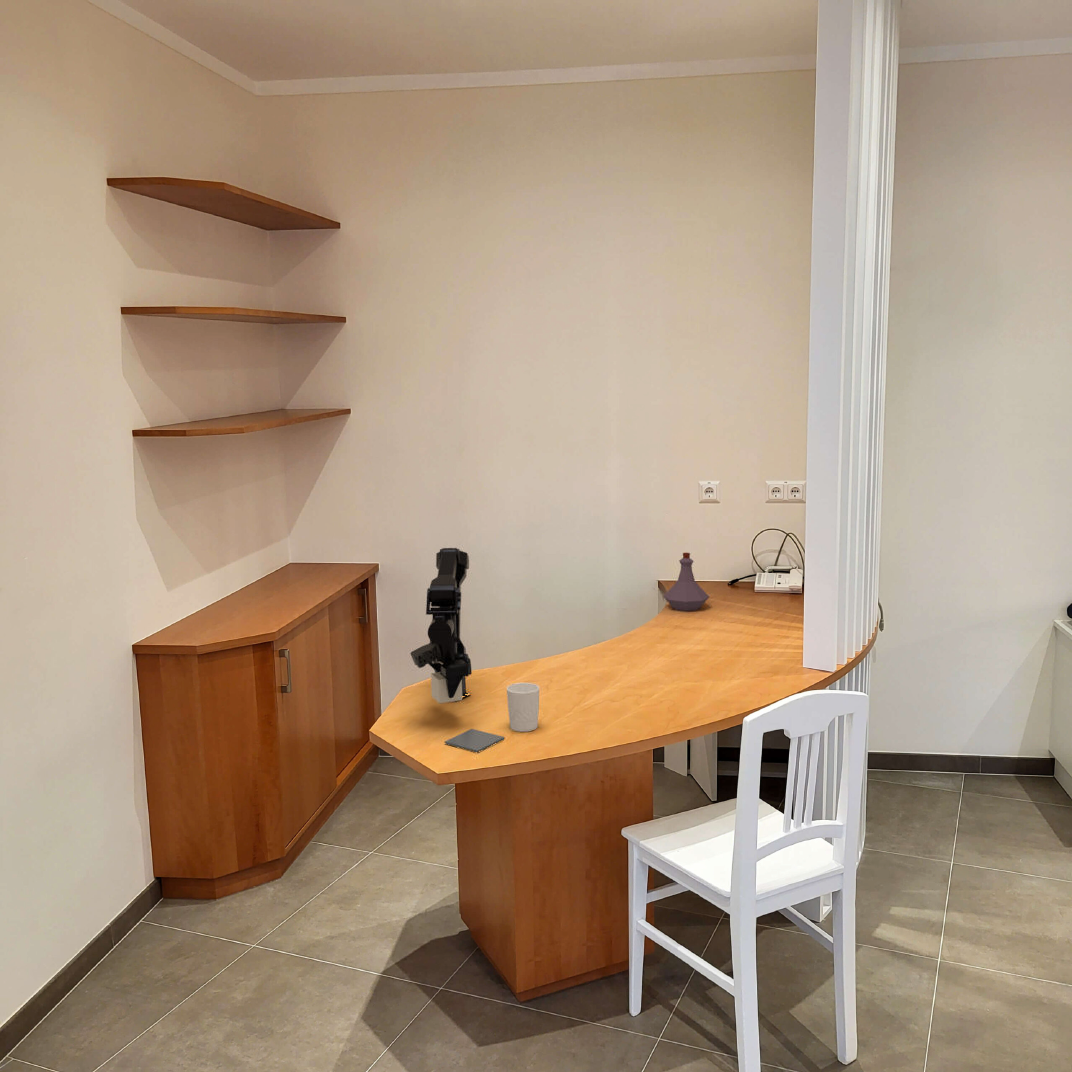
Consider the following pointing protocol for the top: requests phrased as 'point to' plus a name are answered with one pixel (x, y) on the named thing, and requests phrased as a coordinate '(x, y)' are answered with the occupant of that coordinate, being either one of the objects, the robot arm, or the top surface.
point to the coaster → (474, 740)
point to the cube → (443, 689)
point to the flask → (686, 589)
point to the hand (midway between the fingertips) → (446, 693)
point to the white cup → (523, 706)
